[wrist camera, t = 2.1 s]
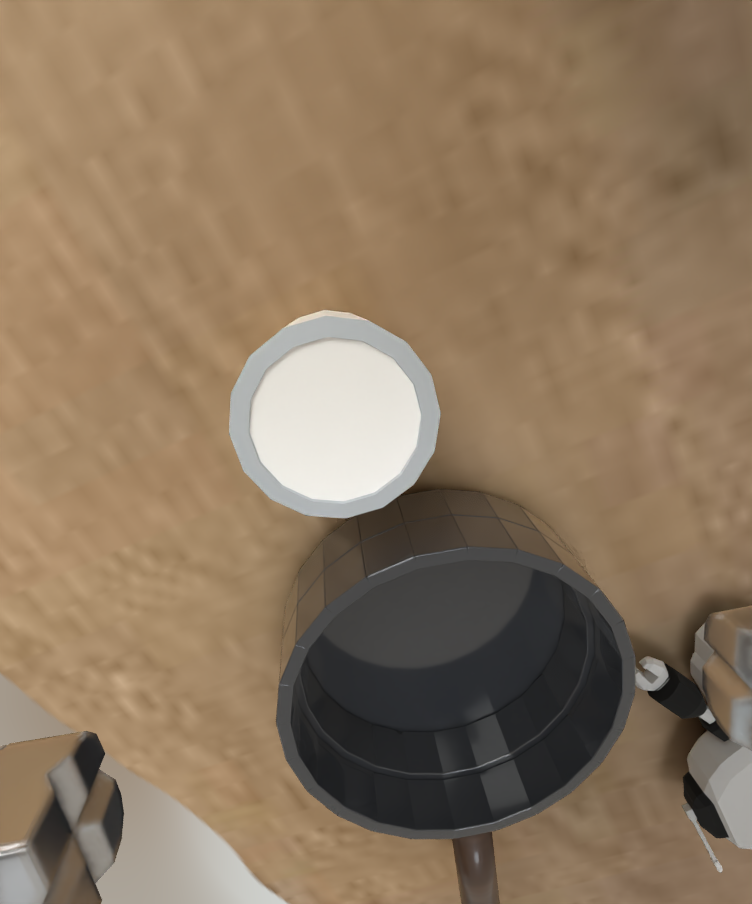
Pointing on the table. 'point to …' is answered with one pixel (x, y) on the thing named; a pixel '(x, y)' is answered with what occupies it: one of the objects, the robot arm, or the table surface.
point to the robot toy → (706, 753)
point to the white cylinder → (334, 416)
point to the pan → (448, 668)
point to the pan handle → (476, 869)
